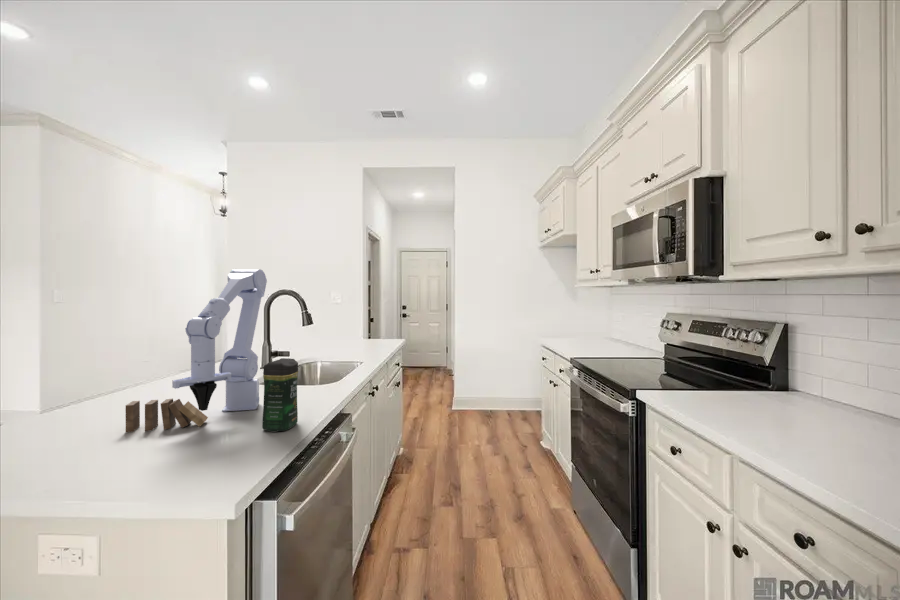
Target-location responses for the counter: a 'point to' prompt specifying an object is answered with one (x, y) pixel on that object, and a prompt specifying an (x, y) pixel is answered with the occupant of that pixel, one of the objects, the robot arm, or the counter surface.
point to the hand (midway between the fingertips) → (203, 409)
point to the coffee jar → (280, 395)
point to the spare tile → (193, 414)
